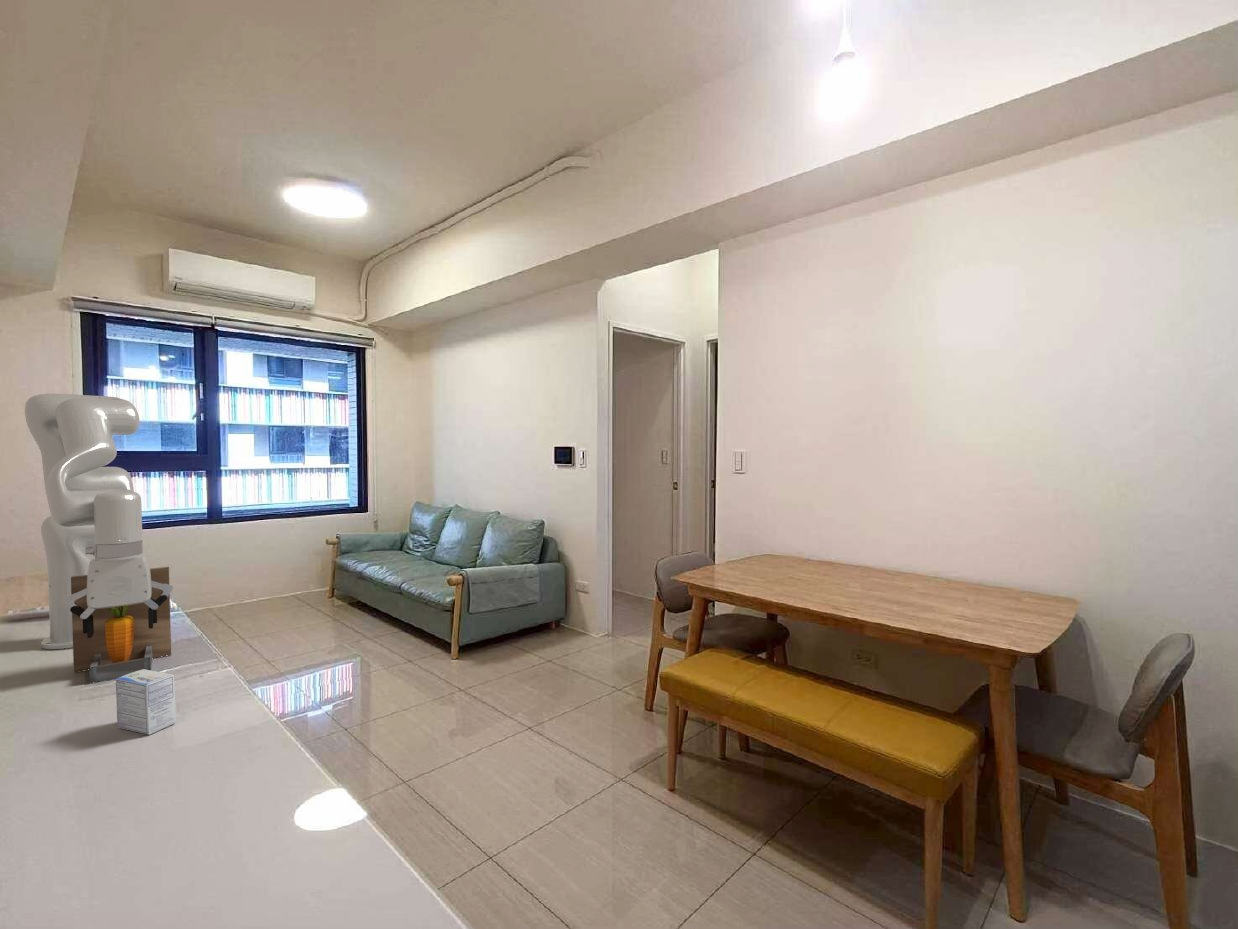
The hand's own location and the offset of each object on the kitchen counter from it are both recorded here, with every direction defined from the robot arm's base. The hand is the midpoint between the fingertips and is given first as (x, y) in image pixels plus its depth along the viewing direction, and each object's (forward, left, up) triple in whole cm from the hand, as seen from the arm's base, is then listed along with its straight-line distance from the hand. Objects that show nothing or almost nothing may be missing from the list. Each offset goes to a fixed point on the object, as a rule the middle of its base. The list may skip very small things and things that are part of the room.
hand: (121, 631), depth 120 cm
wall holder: (0, 0, -8) cm, 8 cm away
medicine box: (+34, +5, -9) cm, 36 cm away
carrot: (0, 0, -8) cm, 9 cm away
